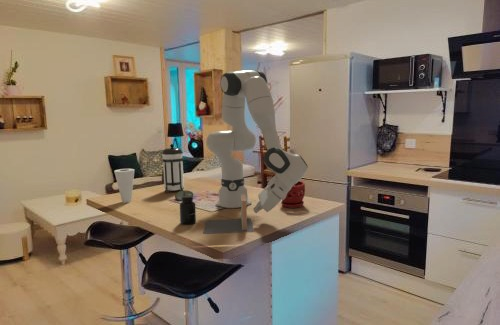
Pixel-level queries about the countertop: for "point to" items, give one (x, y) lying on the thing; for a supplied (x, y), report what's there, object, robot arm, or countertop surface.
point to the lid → (182, 194)
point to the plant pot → (295, 196)
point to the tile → (243, 212)
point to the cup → (125, 183)
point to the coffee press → (173, 169)
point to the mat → (226, 226)
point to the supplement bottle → (187, 210)
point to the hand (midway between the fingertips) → (254, 211)
